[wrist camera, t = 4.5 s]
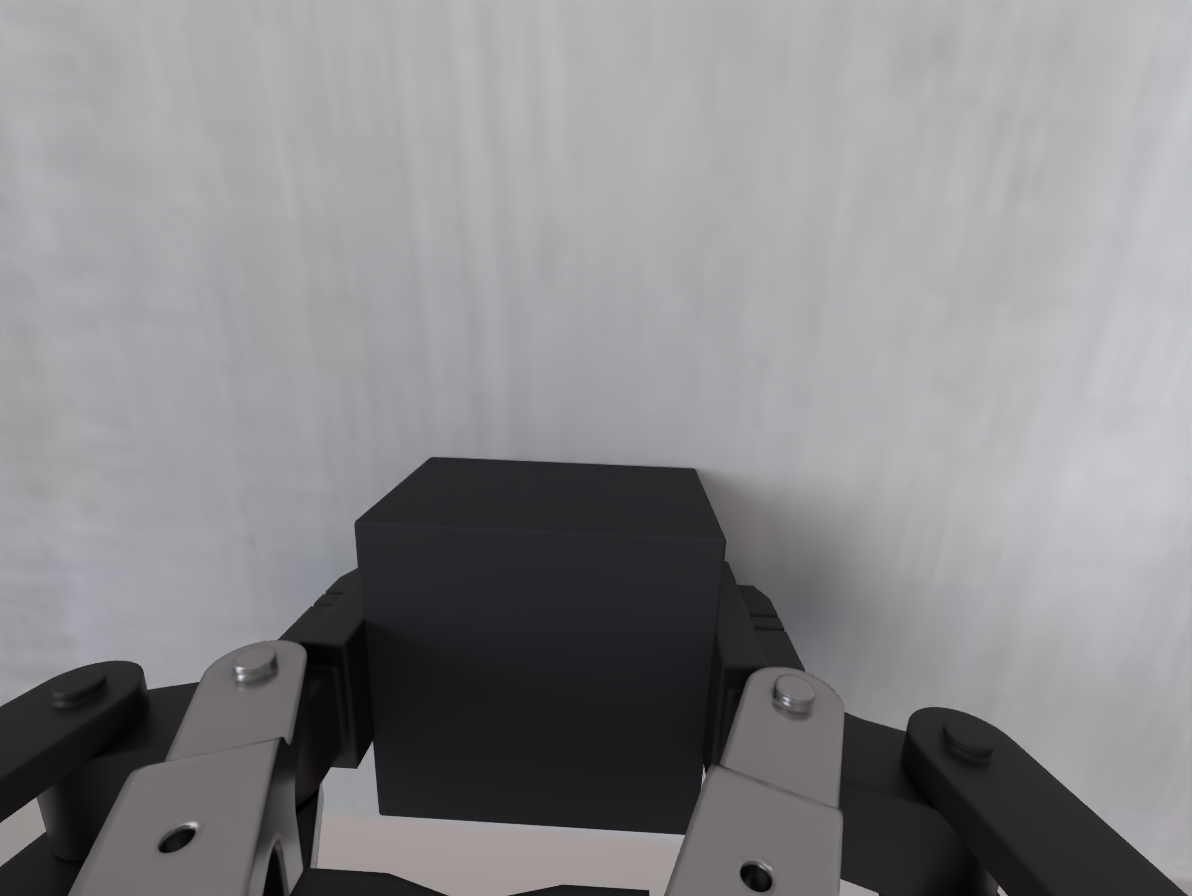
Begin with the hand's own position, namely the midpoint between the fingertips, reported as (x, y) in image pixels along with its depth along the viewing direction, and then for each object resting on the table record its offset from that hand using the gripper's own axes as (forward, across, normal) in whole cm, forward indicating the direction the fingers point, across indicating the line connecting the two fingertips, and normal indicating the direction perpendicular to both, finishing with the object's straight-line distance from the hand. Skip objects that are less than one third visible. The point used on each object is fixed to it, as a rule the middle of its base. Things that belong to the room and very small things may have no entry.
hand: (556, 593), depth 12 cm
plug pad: (0, 0, 0) cm, 0 cm away
